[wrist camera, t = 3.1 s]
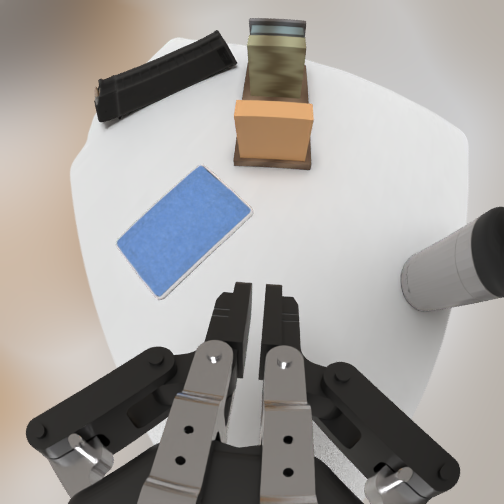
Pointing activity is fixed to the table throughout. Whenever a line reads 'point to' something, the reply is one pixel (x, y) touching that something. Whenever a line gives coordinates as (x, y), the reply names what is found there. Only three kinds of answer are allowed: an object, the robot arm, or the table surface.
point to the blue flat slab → (182, 230)
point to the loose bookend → (273, 129)
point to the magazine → (161, 77)
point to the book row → (276, 75)
